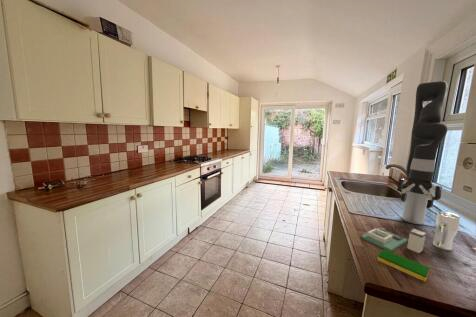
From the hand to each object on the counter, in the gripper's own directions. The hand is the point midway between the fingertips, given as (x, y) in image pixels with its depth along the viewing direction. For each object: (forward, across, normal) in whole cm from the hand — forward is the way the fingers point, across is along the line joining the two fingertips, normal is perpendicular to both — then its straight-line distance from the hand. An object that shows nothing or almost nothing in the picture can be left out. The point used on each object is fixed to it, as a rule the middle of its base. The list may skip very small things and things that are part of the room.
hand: (415, 204), depth 87 cm
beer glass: (+18, -9, -9) cm, 22 cm away
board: (+18, +6, +10) cm, 21 cm away
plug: (+18, -4, +5) cm, 19 cm away
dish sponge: (+19, -6, +23) cm, 31 cm away
